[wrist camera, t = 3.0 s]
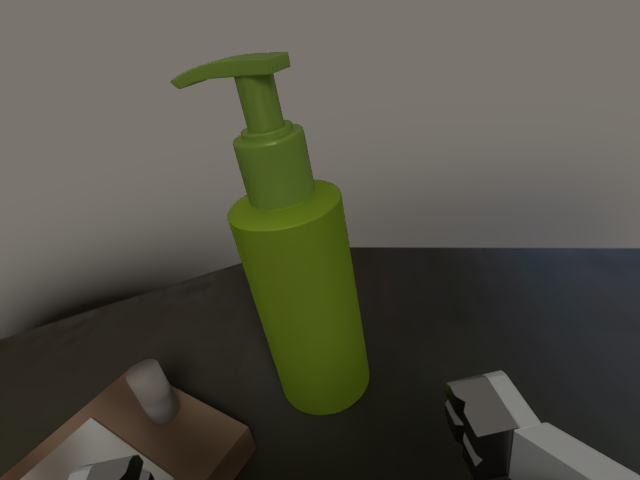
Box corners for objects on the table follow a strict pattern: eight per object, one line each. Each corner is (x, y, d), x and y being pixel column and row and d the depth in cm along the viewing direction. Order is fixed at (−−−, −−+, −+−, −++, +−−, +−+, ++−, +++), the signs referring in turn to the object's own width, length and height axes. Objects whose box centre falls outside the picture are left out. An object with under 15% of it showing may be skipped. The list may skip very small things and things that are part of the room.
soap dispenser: (294, 336, 31) (217, 56, 21) (380, 353, 28) (338, 35, 18) (253, 398, 26) (131, 79, 16) (351, 427, 23) (273, 57, 13)
